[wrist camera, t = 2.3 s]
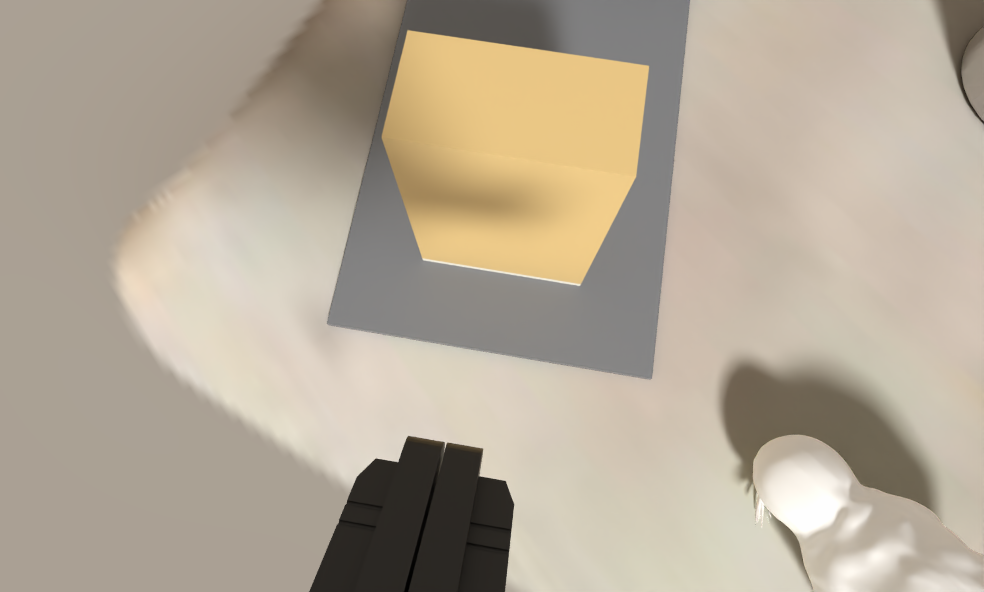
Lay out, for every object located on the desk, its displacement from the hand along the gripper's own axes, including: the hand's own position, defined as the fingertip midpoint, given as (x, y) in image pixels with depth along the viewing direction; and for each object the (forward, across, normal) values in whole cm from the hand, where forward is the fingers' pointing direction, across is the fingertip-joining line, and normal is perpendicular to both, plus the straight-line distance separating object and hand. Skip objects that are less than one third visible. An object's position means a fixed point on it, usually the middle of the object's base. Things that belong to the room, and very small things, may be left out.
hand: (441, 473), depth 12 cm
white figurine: (+11, -17, +13) cm, 24 cm away
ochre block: (+20, 0, +4) cm, 20 cm away
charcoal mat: (+24, 0, 0) cm, 24 cm away
